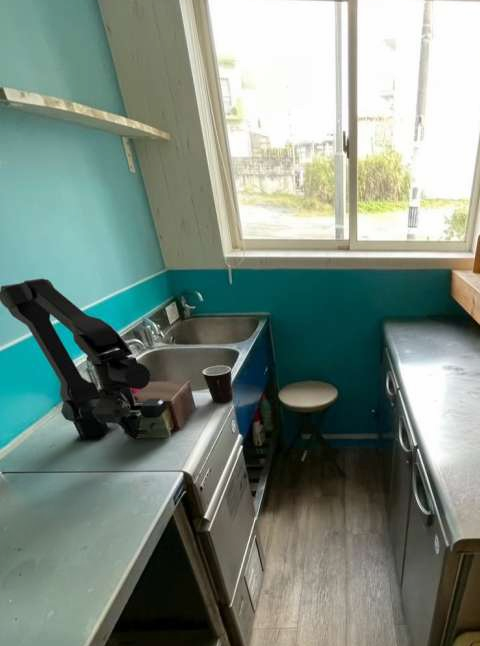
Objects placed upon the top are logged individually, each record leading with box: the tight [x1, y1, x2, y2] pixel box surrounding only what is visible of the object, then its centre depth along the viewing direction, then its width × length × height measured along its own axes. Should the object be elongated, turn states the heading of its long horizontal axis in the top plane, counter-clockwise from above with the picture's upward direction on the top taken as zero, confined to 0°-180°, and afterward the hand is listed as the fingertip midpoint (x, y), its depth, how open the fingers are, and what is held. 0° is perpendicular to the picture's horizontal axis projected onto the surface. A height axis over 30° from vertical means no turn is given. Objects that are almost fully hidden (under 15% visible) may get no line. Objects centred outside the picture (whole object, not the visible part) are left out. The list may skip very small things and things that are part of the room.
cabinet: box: [133, 380, 197, 431], centre depth 116 cm, size 15×13×9 cm
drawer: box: [123, 404, 176, 439], centre depth 109 cm, size 18×11×7 cm, turn 2°
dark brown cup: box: [202, 365, 234, 405], centre depth 126 cm, size 12×9×10 cm
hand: (135, 438), depth 101 cm, fingers closed
